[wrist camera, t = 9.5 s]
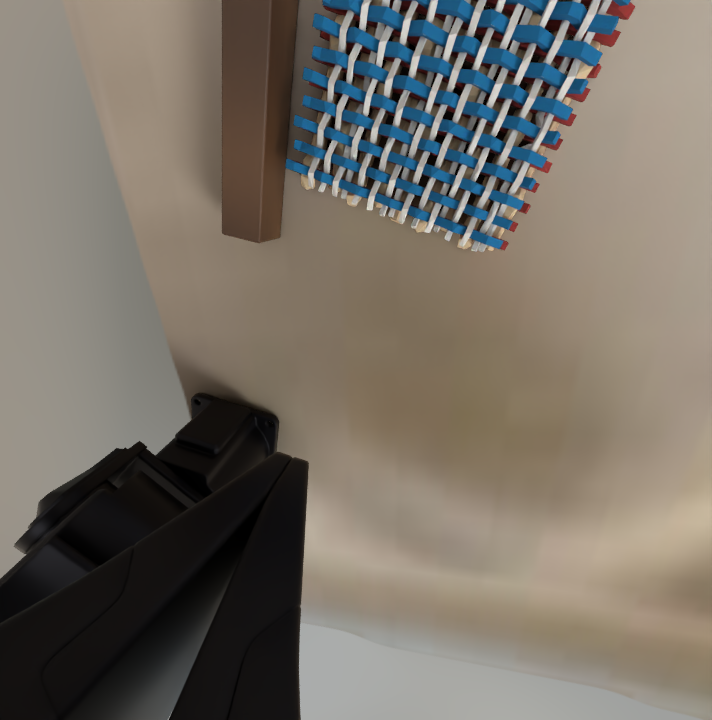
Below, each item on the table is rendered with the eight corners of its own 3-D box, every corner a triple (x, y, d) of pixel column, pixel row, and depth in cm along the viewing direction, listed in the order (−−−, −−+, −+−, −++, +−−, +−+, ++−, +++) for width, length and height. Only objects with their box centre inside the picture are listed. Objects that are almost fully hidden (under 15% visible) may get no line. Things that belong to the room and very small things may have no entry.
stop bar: (280, 238, 18) (259, 243, 16) (246, 230, 18) (221, 234, 16) (313, -184, 12) (285, -268, 9) (259, -188, 12) (220, -273, 10)
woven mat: (496, 261, 16) (504, 269, 14) (295, 184, 17) (278, 182, 15) (655, -38, 11) (696, -81, 10) (362, -137, 12) (349, -197, 10)
